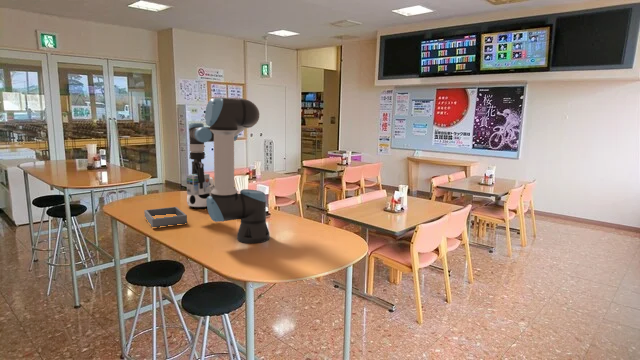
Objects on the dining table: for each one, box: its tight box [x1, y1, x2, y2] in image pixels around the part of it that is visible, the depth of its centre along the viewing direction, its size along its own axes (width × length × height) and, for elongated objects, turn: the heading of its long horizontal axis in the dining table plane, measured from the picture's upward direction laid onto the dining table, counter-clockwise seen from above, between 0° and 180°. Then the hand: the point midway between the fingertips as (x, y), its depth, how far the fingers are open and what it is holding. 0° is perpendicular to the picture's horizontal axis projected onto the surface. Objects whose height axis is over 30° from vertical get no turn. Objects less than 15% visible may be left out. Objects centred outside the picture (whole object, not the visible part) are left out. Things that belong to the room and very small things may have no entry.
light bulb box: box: [186, 172, 211, 196], centre depth 212 cm, size 11×7×11 cm, turn 143°
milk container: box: [186, 176, 214, 209], centre depth 243 cm, size 17×17×18 cm
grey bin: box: [143, 206, 188, 228], centre depth 209 cm, size 22×17×5 cm
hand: (198, 193), depth 212 cm, fingers closed on light bulb box, 8 cm apart
